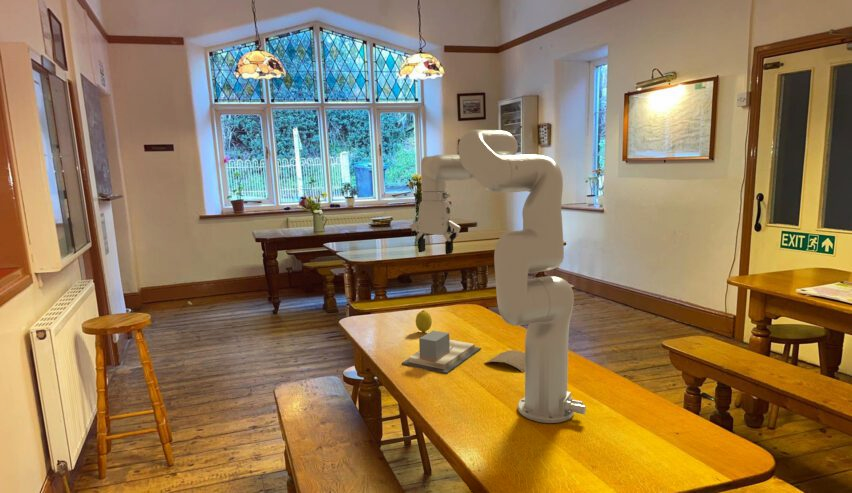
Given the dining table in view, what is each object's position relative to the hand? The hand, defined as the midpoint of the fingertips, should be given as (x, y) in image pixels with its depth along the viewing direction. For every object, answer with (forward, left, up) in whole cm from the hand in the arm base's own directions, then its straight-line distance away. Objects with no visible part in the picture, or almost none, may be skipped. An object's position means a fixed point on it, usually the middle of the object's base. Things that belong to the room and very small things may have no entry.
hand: (435, 252), depth 159 cm
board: (-6, +7, -30) cm, 32 cm away
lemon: (+11, -10, -31) cm, 34 cm away
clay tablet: (-26, +2, -31) cm, 41 cm away
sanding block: (-6, +12, -28) cm, 31 cm away
